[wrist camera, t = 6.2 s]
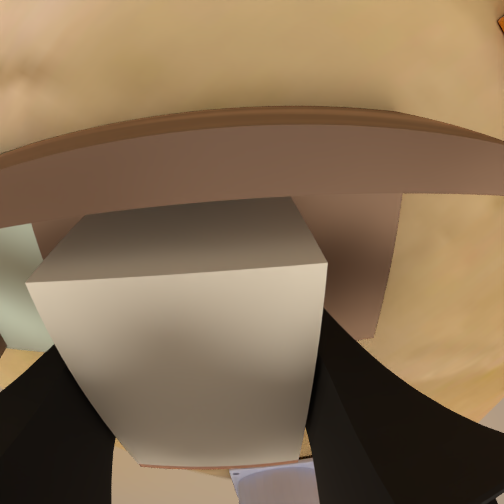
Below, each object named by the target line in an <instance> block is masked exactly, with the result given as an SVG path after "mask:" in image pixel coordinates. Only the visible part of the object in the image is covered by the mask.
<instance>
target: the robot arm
mask: <svg viewBox="0 0 504 504" xmlns="http://www.w3.org/2000/svg"><path fill="white" fill-rule="evenodd" d="M305 427H306V431H307V434H308V438H309V442H310V446H311V451H312V457H313V458H307V459H301V460H298V463H290V464H282V465H274V466H264V467H252V468H236V469H229V473H230V476H231V479H232V482H233V485H234V487H235V490H236V493H237V496H238V498H239V504H498V503H497V501H496V497H498V496H499V495H501V494H502V493H504V433H502V432H499V431H496V430H494V429H491V428H488V427H485V426H483V425H481V424H478V423H476V422H474V421H472V420H470V419H468V418H465V417H463V416H461V415H459V414H457V413H455V412H453V411H451V410H450V409H448V408H446V407H444V406H442V405H441V404H439V403H437V402H436V401H434V400H432V399H431V398H429V397H427V396H426V395H424V394H422V393H421V392H419V391H418V390H416V389H415V388H413V387H412V386H410V385H409V384H407V383H406V382H404V381H403V380H402V379H400V378H399V377H398V376H396V375H395V374H394V373H392V372H391V371H390V370H389V369H387V368H386V367H385V366H384V365H382V364H381V363H380V362H379V361H378V360H376V359H375V358H374V357H373V356H372V355H371V354H370V353H369V352H367V351H366V350H365V349H364V348H363V347H362V346H361V345H360V344H359V343H358V342H357V341H356V340H355V339H354V338H353V337H352V336H351V335H350V334H349V333H348V332H347V331H346V330H345V329H344V328H343V327H342V326H341V325H340V324H339V323H338V322H337V321H336V320H335V319H334V318H333V317H332V316H331V315H330V314H329V313H328V312H327V310H326V309H325V308H324V307H323V314H322V322H321V330H320V338H319V345H318V352H317V359H316V366H315V372H314V379H313V385H312V391H311V397H310V403H309V409H308V414H307V420H306V425H305ZM115 438H116V436H115V435H114V434H113V433H112V431H111V430H110V429H109V427H108V426H107V425H106V423H105V422H104V421H103V419H102V418H101V417H100V415H99V414H98V413H97V411H96V410H95V408H94V407H93V405H92V404H91V403H90V401H89V400H88V398H87V397H86V395H85V394H84V392H83V391H82V389H81V388H80V386H79V385H78V383H77V381H76V380H75V378H74V377H73V375H72V373H71V372H70V370H69V368H68V367H67V365H66V363H65V362H64V360H63V358H62V357H61V355H60V353H59V351H58V349H57V348H56V346H55V344H54V345H53V346H52V347H51V348H50V349H48V350H47V351H46V352H45V353H44V354H43V355H42V356H41V357H40V358H39V359H38V360H37V361H36V362H35V363H34V364H33V365H32V366H30V367H29V368H28V369H27V370H26V371H25V372H24V373H23V374H22V375H21V376H19V377H18V378H17V379H16V380H15V381H13V382H12V383H11V384H10V385H9V386H7V387H6V388H5V389H4V390H2V391H1V392H0V504H111V477H112V461H113V450H114V444H115Z"/></svg>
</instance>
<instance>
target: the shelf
mask: <svg viewBox="0 0 504 504" xmlns="http://www.w3.org/2000/svg"><path fill="white" fill-rule="evenodd" d="M402 193H435V194H477V195H500V196H504V141H502V140H499V139H496V138H494V137H491V136H488V135H485V134H481V133H478V132H475V131H472V130H469V129H465V128H462V127H458V126H455V125H451V124H447V123H444V122H440V121H436V120H432V119H428V118H423V117H419V116H415V115H410V114H405V113H400V112H394V111H384V110H374V109H361V108H346V107H322V106H266V107H242V108H226V109H213V110H202V111H192V112H184V113H175V114H168V115H160V116H153V117H147V118H141V119H135V120H129V121H124V122H118V123H113V124H108V125H103V126H98V127H94V128H89V129H85V130H81V131H77V132H72V133H69V134H65V135H61V136H57V137H53V138H50V139H46V140H43V141H39V142H36V143H33V144H29V145H26V146H23V147H20V148H17V149H14V150H11V151H8V152H5V153H2V154H0V358H1V356H2V354H3V352H4V351H5V349H6V348H10V349H18V350H28V351H38V352H46V351H47V350H48V349H50V348H51V347H52V346H53V345H54V342H53V340H52V338H51V337H50V335H49V333H48V331H47V329H46V327H45V325H44V323H43V321H42V319H41V317H40V315H39V313H38V311H37V309H36V307H35V304H34V302H33V300H32V298H31V296H30V293H29V291H28V289H27V286H26V284H25V282H26V281H27V280H28V278H29V277H30V276H31V275H32V274H33V272H34V271H35V270H36V269H37V268H38V266H39V265H40V264H41V263H42V262H43V260H44V259H45V258H46V257H47V256H48V255H49V254H50V252H51V251H52V250H53V249H54V248H55V247H56V246H57V245H58V243H59V242H60V241H61V240H62V239H63V238H64V237H65V236H66V235H67V234H68V233H69V231H70V230H71V229H72V228H73V227H74V226H75V225H76V224H77V223H78V222H79V221H80V220H81V219H82V218H83V217H84V216H85V215H90V214H97V213H105V212H113V211H121V210H130V209H139V208H148V207H157V206H167V205H177V204H188V203H199V202H211V201H224V200H237V199H252V198H268V197H286V196H291V198H292V200H293V202H294V203H295V205H296V207H297V208H298V210H299V212H300V214H301V215H302V217H303V219H304V221H305V222H306V224H307V226H308V228H309V230H310V231H311V233H312V235H313V237H314V239H315V240H316V242H317V244H318V246H319V248H320V249H321V251H322V253H323V255H324V257H325V259H326V260H327V262H328V266H327V276H326V286H325V296H324V305H323V307H324V308H325V309H326V310H327V312H328V313H329V314H330V315H331V316H332V317H333V318H334V319H335V320H336V321H337V322H338V323H339V324H340V325H341V326H342V327H343V328H344V329H345V330H346V331H347V332H348V333H349V334H350V335H351V336H352V337H353V338H354V339H355V340H362V339H368V338H374V334H375V331H376V327H377V323H378V319H379V315H380V311H381V307H382V303H383V299H384V295H385V290H386V286H387V281H388V277H389V272H390V267H391V262H392V257H393V251H394V246H395V240H396V234H397V228H398V222H399V215H400V208H401V200H402Z"/></svg>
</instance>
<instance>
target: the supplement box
mask: <svg viewBox="0 0 504 504" xmlns="http://www.w3.org/2000/svg"><path fill="white" fill-rule="evenodd" d="M498 23H499V25H500V26H501V28H502V30H503V32H504V16H503V17H502V18H500V19H499V21H498Z"/></svg>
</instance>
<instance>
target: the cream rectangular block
mask: <svg viewBox="0 0 504 504" xmlns="http://www.w3.org/2000/svg"><path fill="white" fill-rule="evenodd" d="M327 266H328V262H327V260H326V259H325V257H324V255H323V253H322V251H321V249H320V248H319V246H318V244H317V242H316V240H315V239H314V237H313V235H312V233H311V231H310V230H309V228H308V226H307V224H306V222H305V221H304V219H303V217H302V215H301V214H300V212H299V210H298V208H297V207H296V205H295V203H294V202H293V200H292V198H291V196H286V197H268V198H252V199H237V200H224V201H211V202H199V203H188V204H177V205H167V206H157V207H148V208H139V209H130V210H121V211H113V212H105V213H97V214H90V215H85V216H84V217H83V218H82V219H81V220H80V221H79V222H78V223H77V224H76V225H75V226H74V227H73V228H72V229H71V230H70V231H69V233H68V234H67V235H66V236H65V237H64V238H63V239H62V240H61V241H60V242H59V243H58V245H57V246H56V247H55V248H54V249H53V250H52V251H51V252H50V254H49V255H48V256H47V257H46V258H45V259H44V260H43V262H42V263H41V264H40V265H39V266H38V268H37V269H36V270H35V271H34V272H33V274H32V275H31V276H30V277H29V278H28V280H27V281H26V282H25V284H26V286H27V289H28V291H29V293H30V296H31V298H32V300H33V302H34V304H35V307H36V309H37V311H38V313H39V315H40V317H41V319H42V321H43V323H44V325H45V327H46V329H47V331H48V333H49V335H50V337H51V338H52V340H53V342H54V344H55V346H56V348H57V349H58V351H59V353H60V355H61V357H62V358H63V360H64V362H65V363H66V365H67V367H68V368H69V370H70V372H71V373H72V375H73V377H74V378H75V380H76V381H77V383H78V385H79V386H80V388H81V389H82V391H83V392H84V394H85V395H86V397H87V398H88V400H89V401H90V403H91V404H92V405H93V407H94V408H95V410H96V411H97V413H98V414H99V415H100V417H101V418H102V419H103V421H104V422H105V423H106V425H107V426H108V427H109V429H110V430H111V431H112V433H113V434H114V435H115V436H116V438H117V439H118V440H119V441H120V443H121V444H122V445H123V446H124V448H125V449H126V450H127V451H128V452H129V454H130V455H131V456H132V457H133V458H134V459H135V461H136V462H137V463H138V464H139V465H140V466H141V467H151V468H167V469H236V468H252V467H264V466H274V465H282V464H290V463H298V460H299V455H300V450H301V445H302V441H303V435H304V430H305V425H306V420H307V414H308V409H309V403H310V397H311V391H312V385H313V379H314V372H315V366H316V359H317V352H318V345H319V338H320V330H321V322H322V314H323V305H324V296H325V286H326V276H327Z"/></svg>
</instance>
